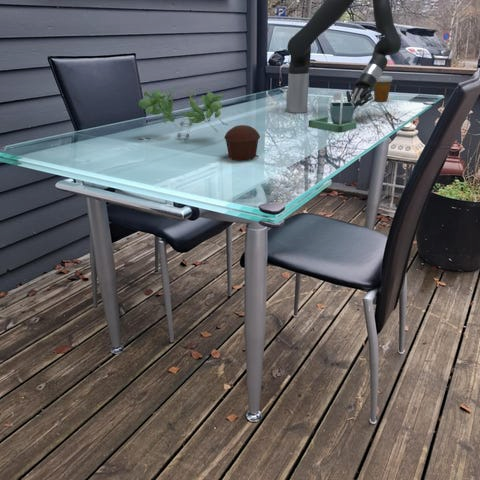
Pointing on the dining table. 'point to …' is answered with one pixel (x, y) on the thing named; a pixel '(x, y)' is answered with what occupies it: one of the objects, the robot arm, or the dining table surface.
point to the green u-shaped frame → (323, 123)
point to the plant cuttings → (210, 106)
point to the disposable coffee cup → (382, 88)
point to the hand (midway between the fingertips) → (349, 112)
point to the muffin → (242, 142)
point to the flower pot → (346, 112)
